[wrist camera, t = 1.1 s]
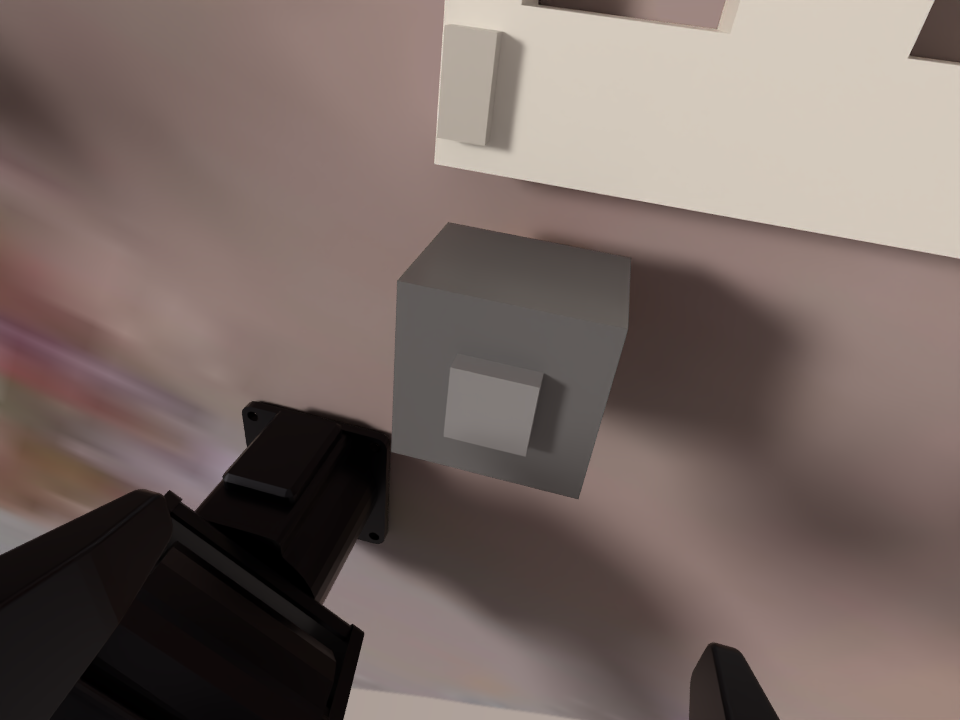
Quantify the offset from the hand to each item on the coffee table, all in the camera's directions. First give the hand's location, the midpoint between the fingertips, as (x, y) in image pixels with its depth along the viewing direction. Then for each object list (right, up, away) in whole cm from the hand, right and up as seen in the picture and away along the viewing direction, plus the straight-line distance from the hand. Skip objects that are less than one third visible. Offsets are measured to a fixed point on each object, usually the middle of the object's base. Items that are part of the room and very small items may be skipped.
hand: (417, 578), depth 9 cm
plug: (+3, +6, +10) cm, 12 cm away
